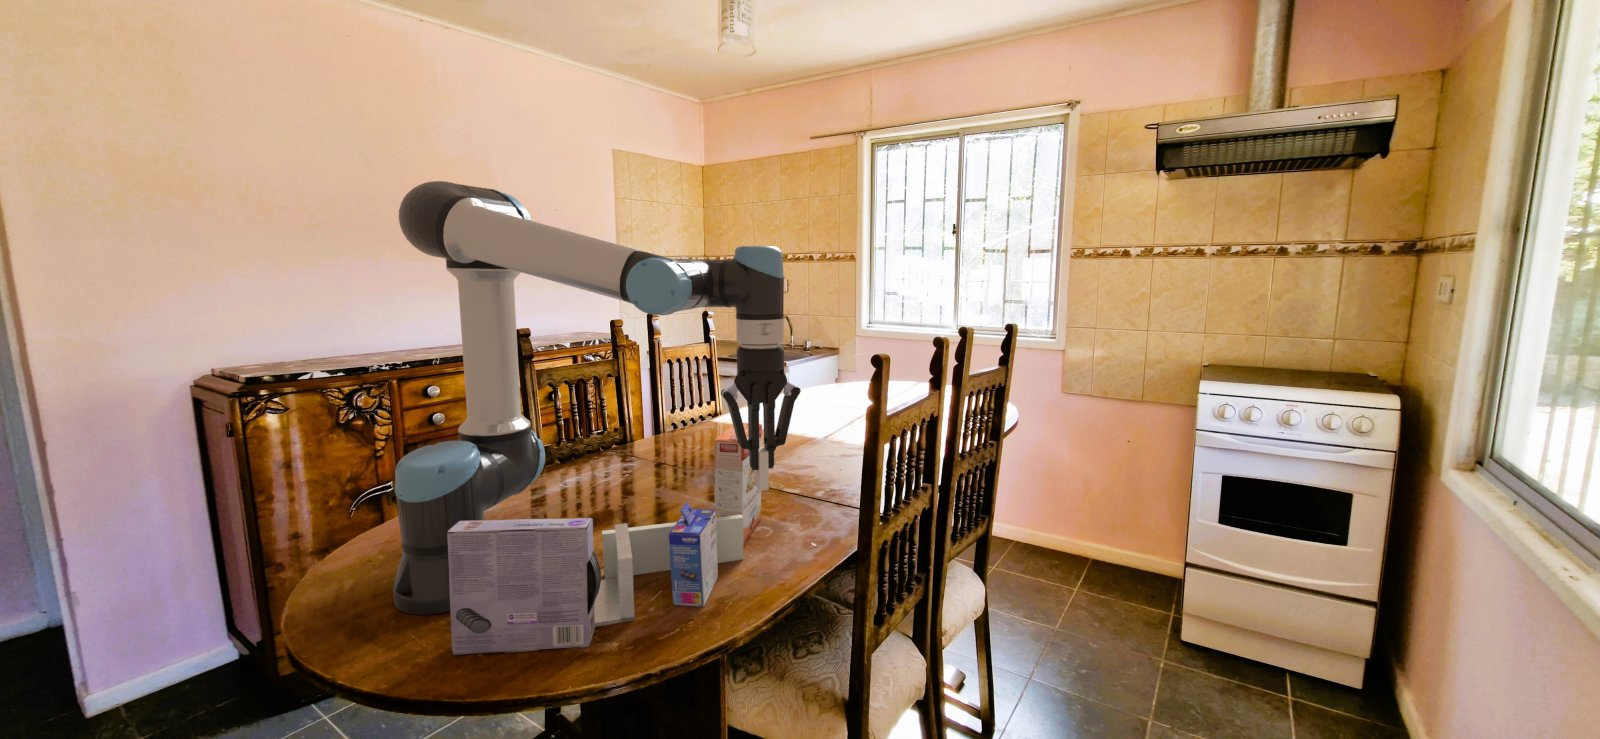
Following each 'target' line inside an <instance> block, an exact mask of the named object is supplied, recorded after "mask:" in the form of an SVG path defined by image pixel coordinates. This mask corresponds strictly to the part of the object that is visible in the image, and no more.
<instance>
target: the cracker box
mask: <svg viewBox="0 0 1600 739" xmlns="http://www.w3.org/2000/svg"><path fill="white" fill-rule="evenodd" d="M743 426H744V430H745V433H746V437H747V440H748V422H743ZM762 444H763V423H759V447H763V445H762ZM714 510H715V516H716V517H724V516H732V515H742V516H743V546H744V545H745V543H746V542H747V540H748V539H749V537H750V535H751V534H752V533H753V531H754V530H755V528H756V527H757V525H758V524H759V522H760V521H761V520H762V518H761V517H762V516H761V515H762V513H761V512H762V491H760V490H759V489H758V488H757V486H756V470H752V469H751V467H750V460H749V450H748V449H743V448H742V447H741V446H740V445H739V444H738V441H737V438H736V434H735V430H734V426H733V425H731V426H730V427H729V428H727V429H726V430H725V431H724V432H722V433H721V434H720V435H719V436H718V437H716V438H715V439H714Z"/></svg>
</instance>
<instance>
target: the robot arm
mask: <svg viewBox="0 0 1600 739" xmlns="http://www.w3.org/2000/svg"><path fill="white" fill-rule="evenodd" d="M398 223H399V227H400V229H401V232H402V233H403V235H404V237H405V239H406V240H407V241H408V242H409V243H410V244H411V246H413V247H414V248H415V249H417V250H418V251H420V252H421V253H423V254H426V255H428V256H431V257H435V258H441V259H445V266H446V271H447V272H449V273H450V274H451V275H452V276H453V277H454V278H455V279H456V281H457V287H458V288H457V289H458V301H459V302H458V303H459V315H460V316H459V317H460V319H459V320H460V331H461V332H460V333H461V346H462V361H463V375H464V387H465V390H464V391H465V404H466V405H465V406H466V415H467V416H466V419H465V420H464V421H463V422H462V423H461V424H460V425H459V427H457V432H458V440H446V441H440V442H437V443H435V444H428V445H424V446H421V447H418V448H416V449H414V450H412V451H410V452H408V453H407V454H405V455H404V456H403V457H401V459H400V460H398V462H397V464H396V467H395V471H394V476H395V477H394V478H395V482H394V486H393V487H394V493H395V498H396V505H397V506H396V507H397V515H398V522H399V525H398V526H399V532H400V541H401V551H402V553H401V558H400V562H399V566H398V567H397V572H396V576H395V579H394V584H393V587H392V597H393V604H394V608H396V609H397V610H399V611H400V612H403V613H405V614H411V615H418V616H419V615H422V616H424V615H436V614H438V615H439V614H442V613H448V612H449V613H450V592H449V560H448V540H447V534H448V530H450V529H451V528H452V527H453V526H454V525H455V524H457V523H458V522H459V521H478V520H485V512H486V511H487V510H489V509H491V508H494V507H495V506H498V504H500V503H501V502H504V501H505V500H507V499H509V498H511V497H512V496H515V495H518V494H521V492H523V491H525V490H526V489H527V488H528V487H529V486H531V485H533V483H535V482H536V480H538V478H539V477H540V475H541V473H542V471H543V469H544V466H545V463H546V462H545V461H546V452H545V450H546V449H545V448H544V443H543V441H542V440H541V439H539V438H538V435H537V433H535V431H534V430H532V425H531V424H532V422H531V421H530V420H529V419H528V418H526V417H525V416H524V415H523V413H522V412H521V411H522V410H521V409H522V408H521V392H520V391H521V390H520V388H521V387H520V372H519V370H520V369H519V356H518V355H519V352H518V351H519V350H518V338H517V337H518V335H517V331H518V330H517V318H516V316H517V315H516V314H517V313H516V298H515V297H516V296H515V280H516V278H518V276H519V275H520V274H521V273H523V274H526V275H528V276H533V277H537V278H541V279H544V280H547V281H551V282H555V283H558V284H561V285H565V286H569V287H573V288H576V289H580V290H584V291H587V292H591V293H594V294H598V295H600V296H601V295H602V296H605V297H608V298H612V299H616V300H619V301H624V302H626V303H629V304H631V305H634V307H635V308H636V309H638V310H639V311H641V312H643V313H645V314H648V315H656V316H657V315H658V316H668V315H671V314H674V313H678V312H681V311H687V310H693V309H698V308H735V312H736V313H735V318H736V323H735V324H736V326H735V327H736V330H735V331H736V343H737V344H738V345H740V346H738V347H737V349H736V376H735V378H734V381H733V384H732V385H731V386H729V387H728V388H726V389H725V388H723V389H721V391H720V395H721V397H722V398H723V399H724V401H725V402H726V403H727V404H726V405H727V408H728V411H729V415H730V418H731V422H732V426H734V430H735V434H736V438H737V441H738V444H739V445H740V446H741V447H742V448H743V449H748V450H749V460H750V467H751V469H752V470H756V486H757V488H758V489H759V490H760V491H761V492H763V491H764V492H765V491H769V489H770V488H769V487H770V486H769V482H770V481H769V477H770V476H769V469H774V467H775V451H776V450H777V447H780V446H784V445H785V443H786V442H787V437H788V433H789V428H790V423H791V419H792V415H793V411H794V405H795V403H796V401H797V398H798V397H799V395H800V394H801V388H800V387H798V386H797V385H795V384H792V383H790V382H789V381H788V377H787V376H786V374H785V373H786V372H785V348H784V346H782V344H783V343H784V342H785V330H784V329H785V324H784V323H785V322H784V321H785V320H784V319H785V318H784V314H785V313H784V308H785V307H784V304H785V303H784V302H785V301H784V300H785V298H784V295H785V294H784V293H785V290H784V289H785V287H784V286H785V274H784V263H783V260H784V258H783V252H782V250H781V249H780V248H779V247H778V246H775V245H774V246H771V245H747V246H745V245H743V246H742V245H741V246H736V248H735V250H734V255H733V258H727V259H709V258H708V259H705V258H703V259H698V258H697V259H695V258H693V259H692V258H671V257H667V256H663V255H658V254H656V253H651V252H647V251H642V250H639V249H635V248H632V247H628V246H624V245H620V244H617V243H613V242H611V241H606V240H602V239H598V238H595V237H591V236H588V235H584V234H582V233H581V234H580V233H577V232H573V231H570V230H566V229H562V228H558V227H555V226H552V225H551V226H550V225H547V224H543V223H540V222H537V221H533V219H532V217H531V215H530V213H529V211H528V210H527V208H526V207H525V205H523V204H522V202H520V201H519V200H518V199H517V198H516V197H514V196H512V195H511V194H507V193H505V192H502V191H499V190H498V189H497V190H496V189H494V188H486V187H480V186H474V185H473V186H472V185H467V184H466V185H465V184H459V183H455V182H450V181H442V180H435V181H426V182H424V183H421V184H418V185H416V186H415V187H414V188H412V189H411V190H409V191H408V192H406V195H405V196H403V198H402V200H401V202H400V206H399V208H398ZM738 391H739V393H740V394H741V395H742V397H743V398H744V399H745V400H746V404H747V417H748V418H747V423H748V440H747V437H746V433H745V430H744V426H743V423H744V422H743V419H742V415H741V412H740V408H739V404H738V402H737V400H738V398H739V395H738ZM782 392H783V395H784V396H783V398H782V402H781V407H780V412H779V415H778V420H777V425H775V423H776V421H775V420H776V419H775V418H776V417H775V414H776V413H775V409H776V400H777V399H778V397H779V396H780V394H781V393H782ZM761 404H762V409H763V411H762V412H763V415H762V416H763V418H762V419H763V446H762V447H759V424H760V408H761ZM775 427H776V428H775Z"/></svg>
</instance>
